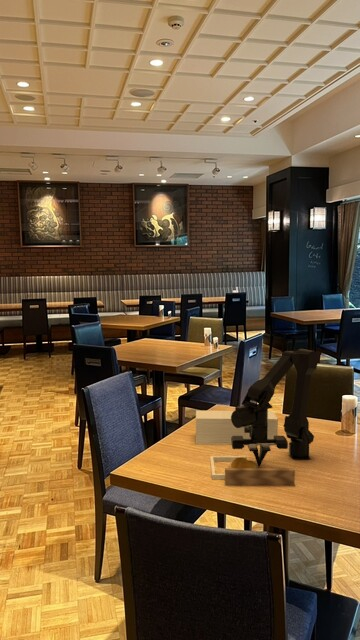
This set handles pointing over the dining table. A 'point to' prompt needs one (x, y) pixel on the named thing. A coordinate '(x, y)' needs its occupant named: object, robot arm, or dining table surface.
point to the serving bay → (221, 458)
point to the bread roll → (243, 463)
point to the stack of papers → (225, 427)
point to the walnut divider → (260, 476)
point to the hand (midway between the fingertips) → (258, 466)
